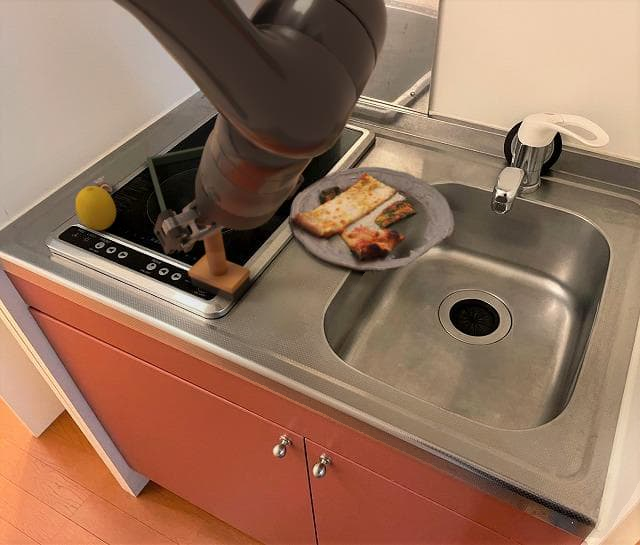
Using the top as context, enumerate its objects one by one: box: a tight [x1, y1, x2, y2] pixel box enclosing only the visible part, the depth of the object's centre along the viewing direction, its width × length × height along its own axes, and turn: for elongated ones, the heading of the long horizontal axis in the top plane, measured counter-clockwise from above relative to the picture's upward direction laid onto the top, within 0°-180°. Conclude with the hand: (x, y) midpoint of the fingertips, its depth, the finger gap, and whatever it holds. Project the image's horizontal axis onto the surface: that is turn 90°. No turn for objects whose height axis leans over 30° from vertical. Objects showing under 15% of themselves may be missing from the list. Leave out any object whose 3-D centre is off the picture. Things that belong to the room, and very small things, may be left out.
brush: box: [187, 225, 251, 303], centre depth 75 cm, size 7×4×12 cm, turn 62°
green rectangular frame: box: [146, 145, 205, 213], centre depth 96 cm, size 20×16×2 cm
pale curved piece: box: [93, 176, 113, 193], centre depth 94 cm, size 3×2×4 cm
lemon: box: [75, 185, 117, 231], centre depth 86 cm, size 6×6×8 cm
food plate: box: [287, 166, 455, 274], centre depth 88 cm, size 25×23×4 cm
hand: (219, 226), depth 61 cm, fingers open, 8 cm apart
